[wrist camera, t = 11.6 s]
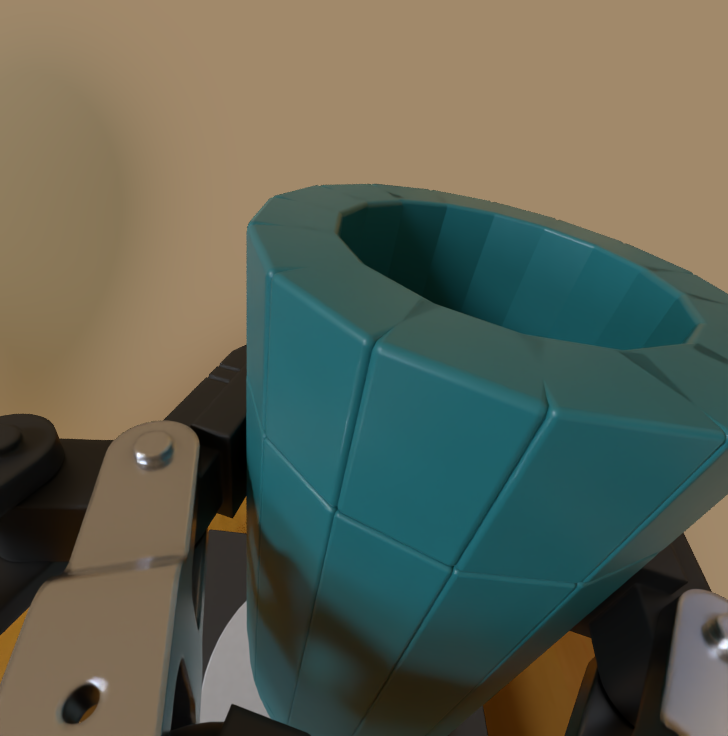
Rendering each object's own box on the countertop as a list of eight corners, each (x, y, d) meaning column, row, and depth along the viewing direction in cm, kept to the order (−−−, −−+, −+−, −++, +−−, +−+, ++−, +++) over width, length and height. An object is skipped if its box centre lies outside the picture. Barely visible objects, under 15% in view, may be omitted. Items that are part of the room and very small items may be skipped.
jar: (447, 533, 14) (613, 224, 8) (490, 781, 9) (1056, 484, 3) (274, 513, 14) (297, 163, 7) (217, 767, 9) (129, 349, 2)
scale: (446, 575, 24) (460, 551, 22) (495, 911, 14) (527, 913, 13) (211, 549, 23) (208, 522, 21) (91, 898, 13) (68, 898, 11)
